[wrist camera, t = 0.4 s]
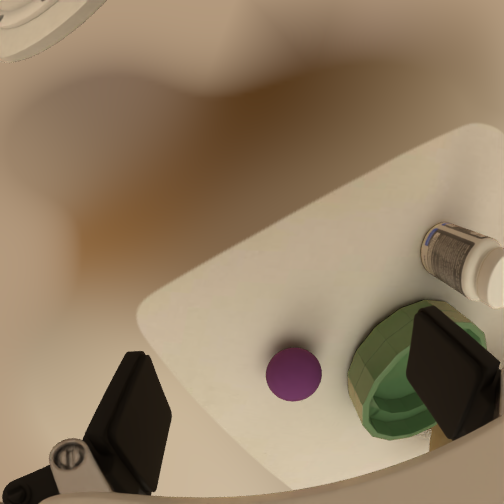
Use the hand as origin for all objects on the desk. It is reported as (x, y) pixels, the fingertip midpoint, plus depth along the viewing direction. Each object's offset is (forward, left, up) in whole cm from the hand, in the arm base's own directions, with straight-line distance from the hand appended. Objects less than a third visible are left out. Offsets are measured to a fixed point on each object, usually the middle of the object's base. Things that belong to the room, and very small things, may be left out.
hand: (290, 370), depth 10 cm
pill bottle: (-9, +13, -13) cm, 20 cm away
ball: (+6, +7, -11) cm, 14 cm away
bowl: (+1, +18, -13) cm, 22 cm away
